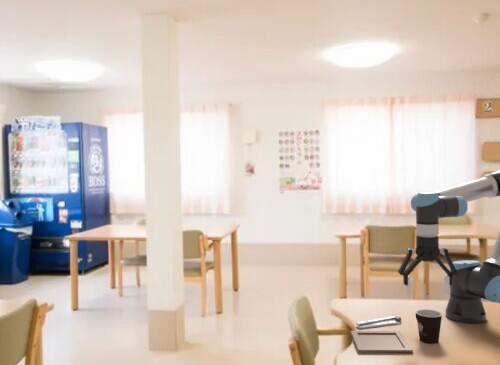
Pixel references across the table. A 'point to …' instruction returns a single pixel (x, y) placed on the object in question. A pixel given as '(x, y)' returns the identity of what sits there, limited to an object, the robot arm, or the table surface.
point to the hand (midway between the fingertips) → (427, 293)
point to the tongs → (370, 323)
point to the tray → (381, 342)
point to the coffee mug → (429, 325)
